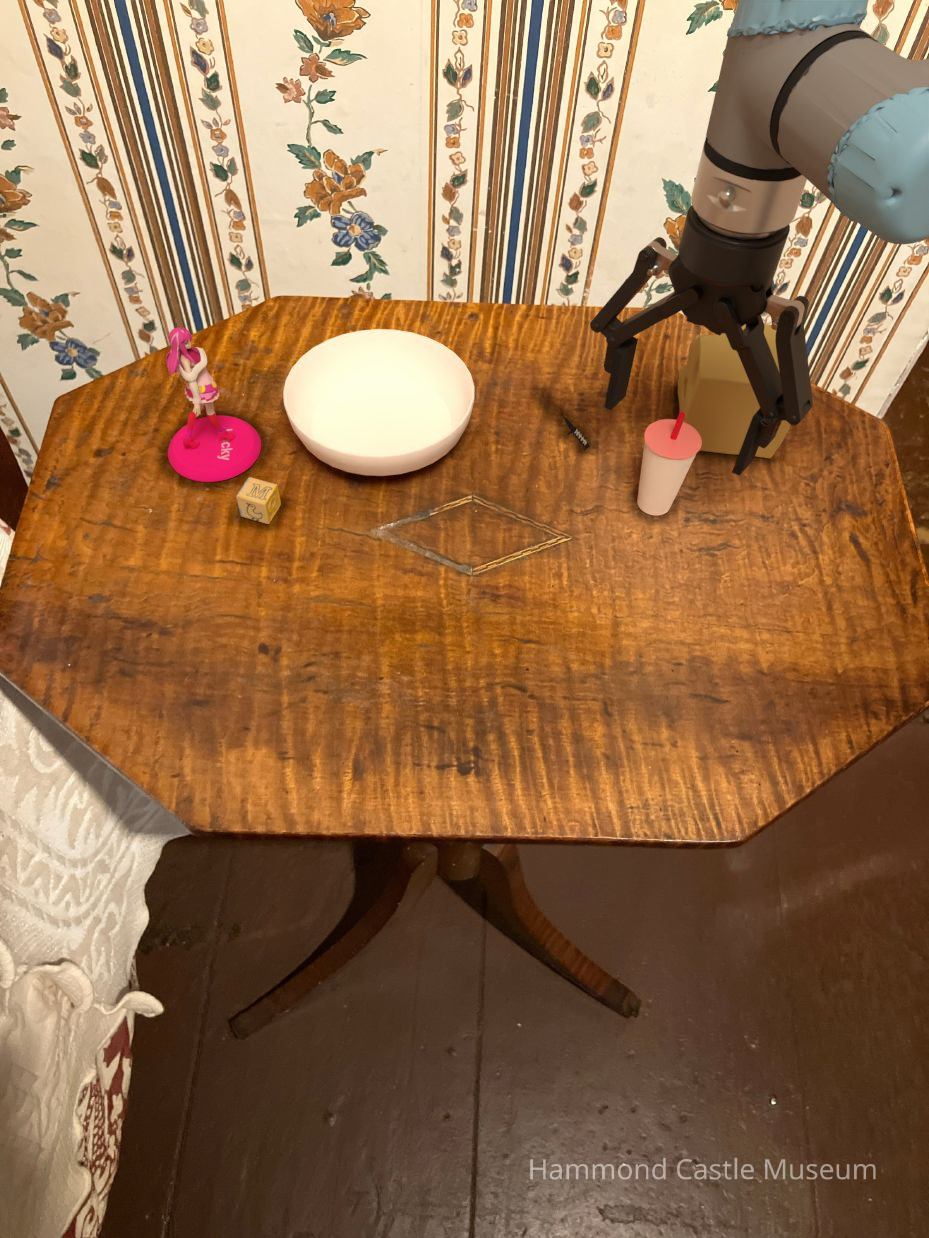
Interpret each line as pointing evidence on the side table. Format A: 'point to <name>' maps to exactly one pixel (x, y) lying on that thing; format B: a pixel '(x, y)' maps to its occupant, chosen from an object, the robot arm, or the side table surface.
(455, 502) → the side table surface
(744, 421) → the cheese
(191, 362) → the figurine
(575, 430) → the knife
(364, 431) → the bowl
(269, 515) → the alphabet block
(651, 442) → the cup
